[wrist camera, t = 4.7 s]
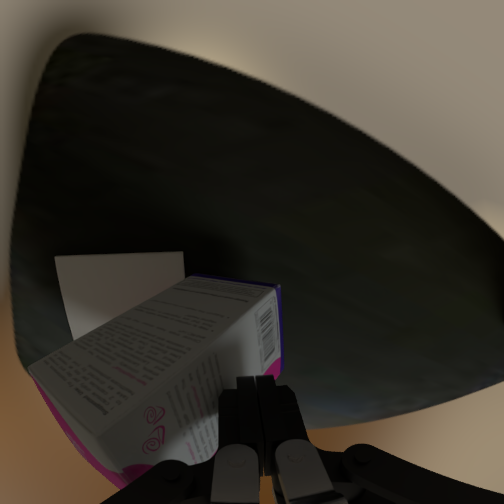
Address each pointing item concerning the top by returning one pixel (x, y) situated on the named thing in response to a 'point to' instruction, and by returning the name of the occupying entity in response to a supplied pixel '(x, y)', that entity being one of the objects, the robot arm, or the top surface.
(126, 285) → the mat
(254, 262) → the top surface
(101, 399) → the supplement box
